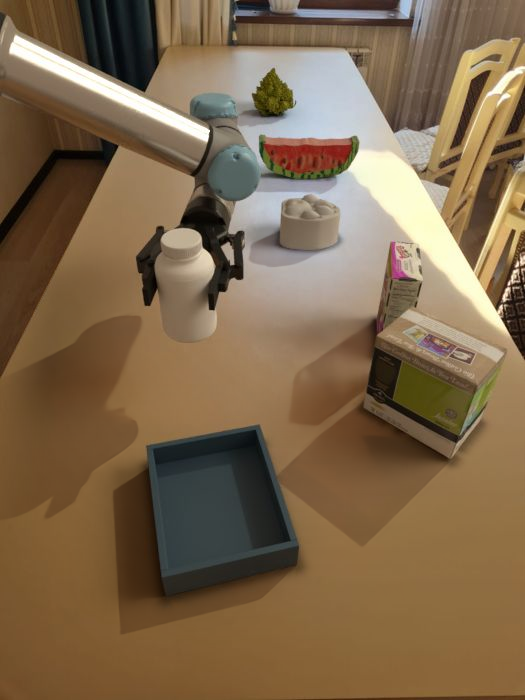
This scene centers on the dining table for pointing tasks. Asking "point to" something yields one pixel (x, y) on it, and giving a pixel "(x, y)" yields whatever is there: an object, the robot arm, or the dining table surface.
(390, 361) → the tea box
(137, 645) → the dining table surface
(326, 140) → the fruit slice
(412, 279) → the candy bar box
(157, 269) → the pill bottle
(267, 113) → the vegetable
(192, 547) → the tray
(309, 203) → the lumpy-topped squat cylinder
